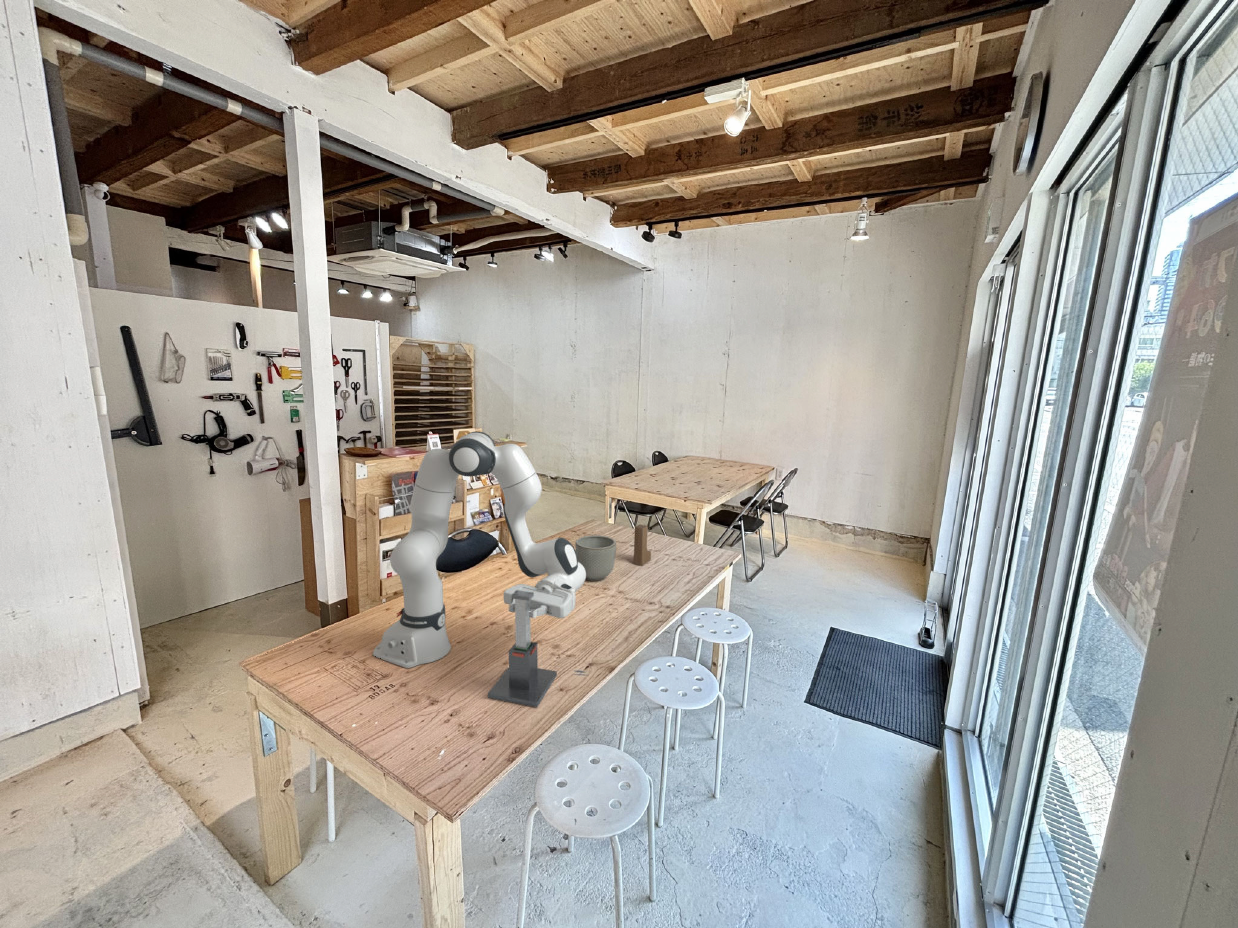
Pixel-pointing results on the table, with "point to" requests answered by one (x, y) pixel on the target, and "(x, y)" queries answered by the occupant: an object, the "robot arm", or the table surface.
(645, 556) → the wooden block
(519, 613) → the column
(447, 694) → the table surface
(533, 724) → the table surface
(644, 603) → the table surface
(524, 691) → the stand
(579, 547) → the planter
